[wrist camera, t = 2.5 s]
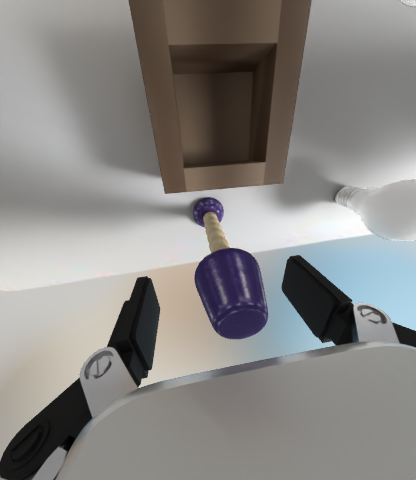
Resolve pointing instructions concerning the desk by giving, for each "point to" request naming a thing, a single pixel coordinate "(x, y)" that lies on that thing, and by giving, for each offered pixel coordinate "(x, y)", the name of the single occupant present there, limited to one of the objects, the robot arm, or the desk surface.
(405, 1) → the champagne flute
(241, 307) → the toy lamp
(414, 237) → the lightbulb
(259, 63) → the socket block
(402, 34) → the desk surface
